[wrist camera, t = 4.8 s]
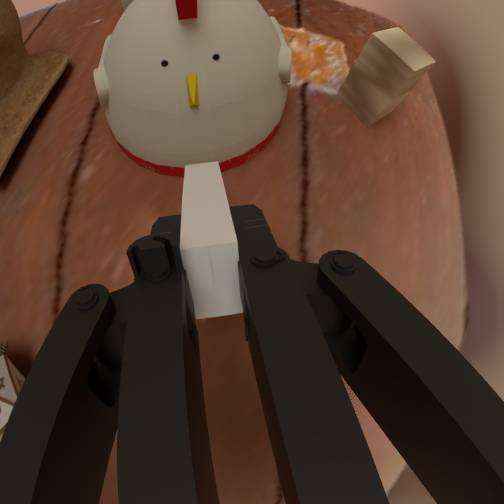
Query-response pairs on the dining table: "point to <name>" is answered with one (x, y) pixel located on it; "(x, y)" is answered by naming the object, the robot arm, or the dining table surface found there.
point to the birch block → (384, 74)
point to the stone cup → (21, 81)
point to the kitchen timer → (193, 82)
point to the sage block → (126, 3)
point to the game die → (8, 387)
